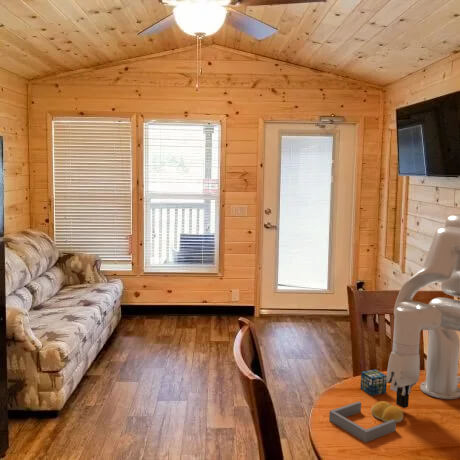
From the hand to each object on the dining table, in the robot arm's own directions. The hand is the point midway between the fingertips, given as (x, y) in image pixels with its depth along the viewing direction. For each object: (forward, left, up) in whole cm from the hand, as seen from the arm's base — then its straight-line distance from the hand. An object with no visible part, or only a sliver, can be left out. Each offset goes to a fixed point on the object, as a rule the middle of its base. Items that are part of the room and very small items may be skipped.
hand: (402, 405), depth 155 cm
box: (+16, 0, -2) cm, 16 cm away
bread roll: (+6, 0, -2) cm, 7 cm away
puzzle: (-4, -15, -2) cm, 15 cm away
